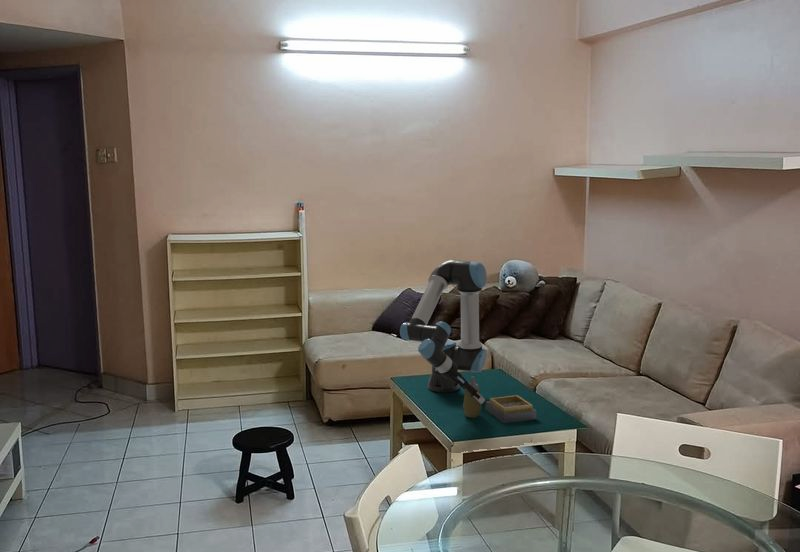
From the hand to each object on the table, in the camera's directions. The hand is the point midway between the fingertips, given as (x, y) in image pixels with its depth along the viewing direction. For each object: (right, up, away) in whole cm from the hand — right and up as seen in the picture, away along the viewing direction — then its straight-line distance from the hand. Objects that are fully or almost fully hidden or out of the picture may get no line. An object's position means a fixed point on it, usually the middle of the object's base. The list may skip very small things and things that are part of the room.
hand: (479, 399), depth 348 cm
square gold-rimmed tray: (+14, -7, +2) cm, 16 cm away
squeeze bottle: (-3, -8, 0) cm, 8 cm away
